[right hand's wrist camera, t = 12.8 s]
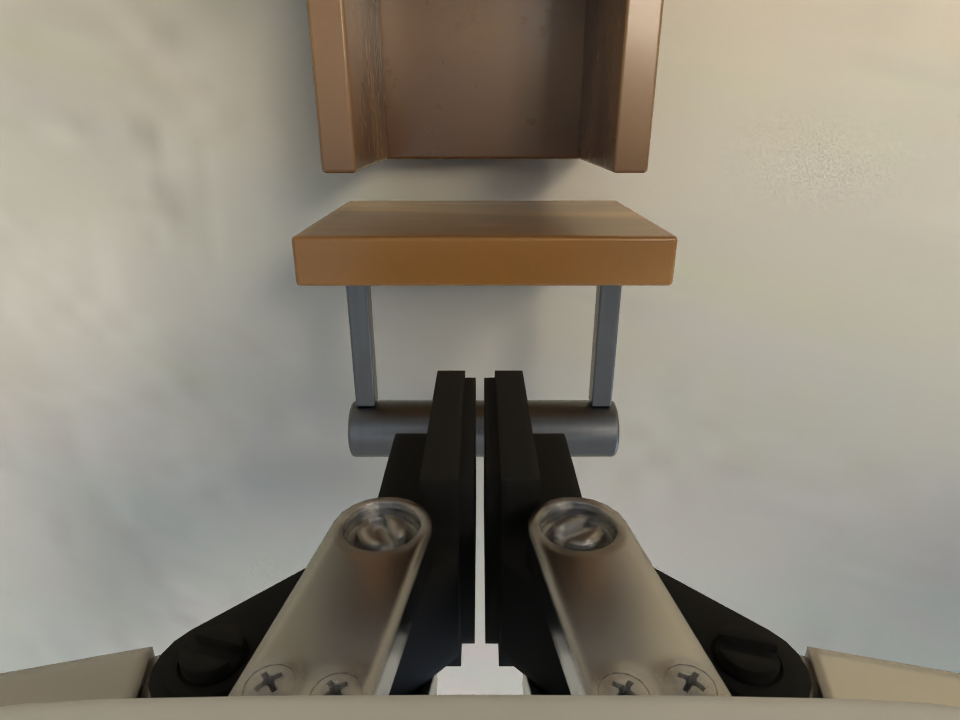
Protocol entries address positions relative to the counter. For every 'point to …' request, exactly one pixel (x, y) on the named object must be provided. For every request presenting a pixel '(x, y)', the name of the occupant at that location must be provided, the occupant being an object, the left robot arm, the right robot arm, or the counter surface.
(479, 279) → the drawer
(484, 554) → the right robot arm
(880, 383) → the counter surface
